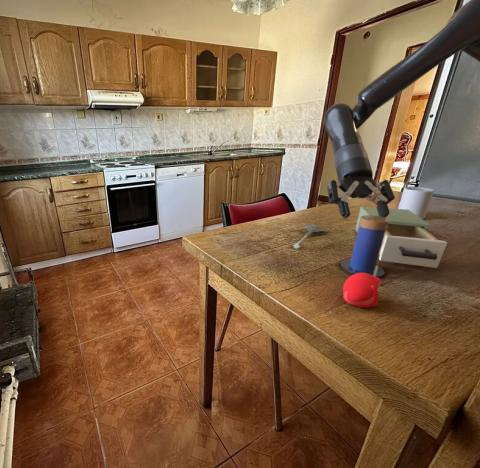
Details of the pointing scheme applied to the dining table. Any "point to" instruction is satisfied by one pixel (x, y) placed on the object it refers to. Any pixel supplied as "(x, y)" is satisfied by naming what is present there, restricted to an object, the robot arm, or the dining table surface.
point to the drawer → (411, 246)
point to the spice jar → (368, 242)
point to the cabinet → (395, 217)
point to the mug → (416, 200)
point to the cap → (361, 290)
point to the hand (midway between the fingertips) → (365, 217)
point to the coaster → (377, 271)
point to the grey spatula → (311, 229)
